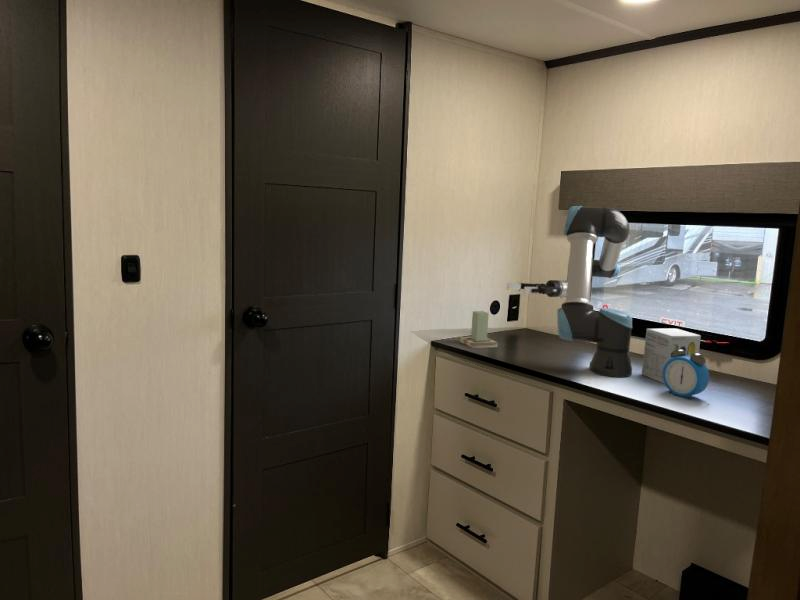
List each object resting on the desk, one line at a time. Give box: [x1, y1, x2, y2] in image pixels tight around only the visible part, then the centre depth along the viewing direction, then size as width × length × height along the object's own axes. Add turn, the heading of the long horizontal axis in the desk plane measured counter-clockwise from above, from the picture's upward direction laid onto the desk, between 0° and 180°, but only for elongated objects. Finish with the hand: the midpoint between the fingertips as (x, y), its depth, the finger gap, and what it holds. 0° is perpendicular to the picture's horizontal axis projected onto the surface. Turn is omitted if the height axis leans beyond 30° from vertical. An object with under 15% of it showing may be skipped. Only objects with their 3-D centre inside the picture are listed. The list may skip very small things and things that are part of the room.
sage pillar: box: [470, 310, 490, 341], centre depth 261 cm, size 5×5×12 cm
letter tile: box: [459, 336, 498, 349], centre depth 262 cm, size 12×12×2 cm
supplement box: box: [641, 327, 702, 385], centre depth 220 cm, size 13×13×18 cm
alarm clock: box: [663, 349, 710, 400], centre depth 200 cm, size 13×6×15 cm, turn 35°
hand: (515, 288), depth 264 cm, fingers open, 13 cm apart
